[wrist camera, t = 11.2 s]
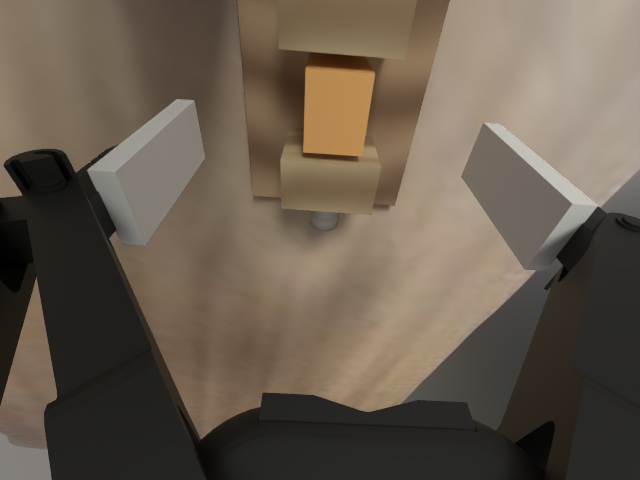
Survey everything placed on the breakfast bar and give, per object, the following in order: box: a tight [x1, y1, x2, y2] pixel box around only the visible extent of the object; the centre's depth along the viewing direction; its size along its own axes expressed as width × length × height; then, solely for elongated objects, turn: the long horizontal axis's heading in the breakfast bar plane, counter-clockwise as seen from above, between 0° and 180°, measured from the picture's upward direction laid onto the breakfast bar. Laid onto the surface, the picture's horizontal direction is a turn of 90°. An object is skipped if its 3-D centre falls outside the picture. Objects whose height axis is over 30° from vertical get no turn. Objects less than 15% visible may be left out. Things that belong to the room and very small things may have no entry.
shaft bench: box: [237, 0, 450, 231], centre depth 22 cm, size 20×14×7 cm
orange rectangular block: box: [303, 53, 375, 156], centre depth 21 cm, size 5×4×6 cm
